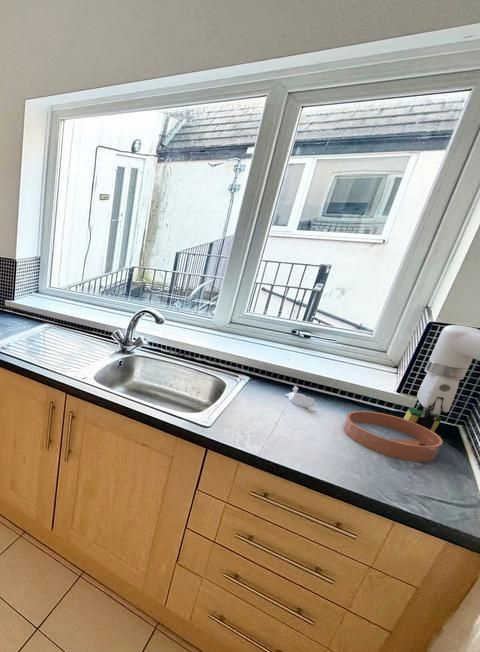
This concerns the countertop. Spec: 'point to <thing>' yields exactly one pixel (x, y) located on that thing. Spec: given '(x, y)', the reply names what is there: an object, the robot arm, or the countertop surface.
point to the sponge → (414, 414)
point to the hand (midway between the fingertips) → (419, 426)
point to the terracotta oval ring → (392, 446)
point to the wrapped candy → (301, 399)
